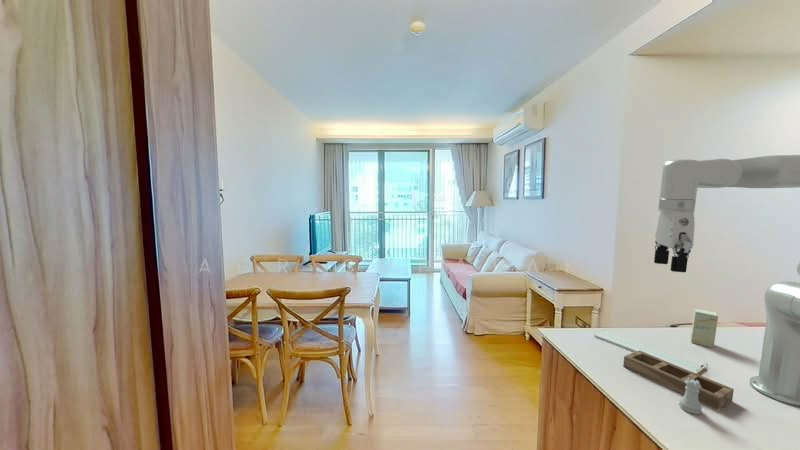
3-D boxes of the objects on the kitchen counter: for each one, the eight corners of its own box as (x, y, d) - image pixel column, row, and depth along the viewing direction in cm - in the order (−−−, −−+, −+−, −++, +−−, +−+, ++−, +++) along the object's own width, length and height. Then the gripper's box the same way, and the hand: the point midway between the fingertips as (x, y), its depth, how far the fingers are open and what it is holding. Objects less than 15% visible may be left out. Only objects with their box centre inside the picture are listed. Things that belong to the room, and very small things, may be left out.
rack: (638, 360, 106) (639, 350, 106) (732, 401, 86) (733, 389, 85) (623, 366, 102) (624, 356, 102) (717, 410, 82) (719, 398, 82)
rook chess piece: (685, 413, 81) (688, 384, 80) (674, 402, 85) (677, 374, 84) (706, 416, 80) (709, 387, 79) (694, 405, 84) (697, 376, 83)
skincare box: (691, 342, 119) (694, 311, 117) (690, 338, 122) (693, 308, 121) (714, 348, 115) (718, 315, 113) (713, 343, 118) (717, 312, 117)
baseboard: (607, 332, 128) (594, 338, 123) (608, 325, 128) (594, 331, 123) (707, 368, 103) (696, 378, 97) (708, 360, 102) (697, 369, 97)
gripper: (713, 208, 77) (704, 276, 79) (676, 205, 94) (669, 262, 96) (675, 207, 80) (667, 273, 82) (646, 204, 96) (640, 259, 98)
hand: (668, 267), depth 89 cm, fingers open, 9 cm apart
